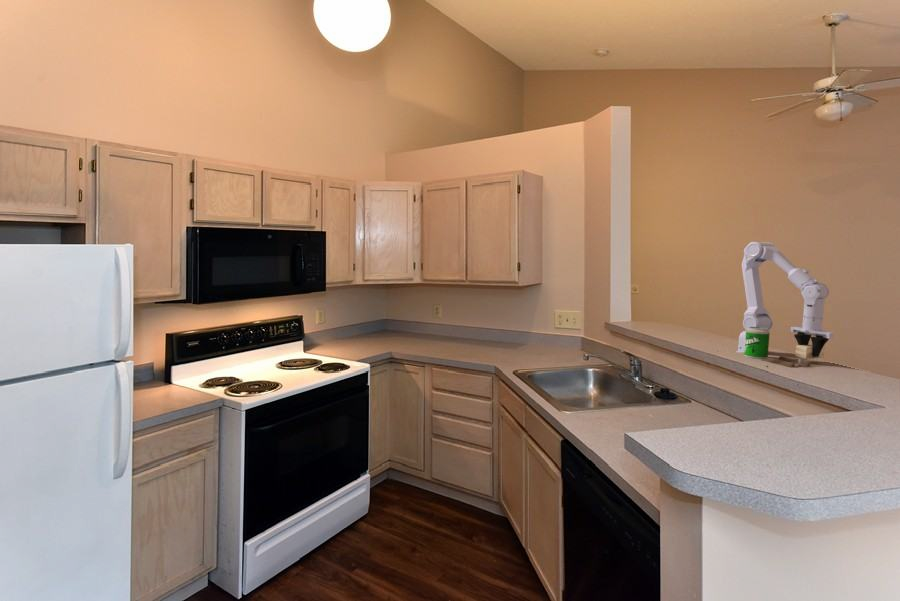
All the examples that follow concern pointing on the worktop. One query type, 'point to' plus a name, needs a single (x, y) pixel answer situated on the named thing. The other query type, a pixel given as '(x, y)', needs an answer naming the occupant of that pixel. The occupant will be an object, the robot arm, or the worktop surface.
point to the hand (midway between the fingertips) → (809, 355)
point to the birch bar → (807, 351)
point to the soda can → (756, 342)
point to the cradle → (795, 362)
